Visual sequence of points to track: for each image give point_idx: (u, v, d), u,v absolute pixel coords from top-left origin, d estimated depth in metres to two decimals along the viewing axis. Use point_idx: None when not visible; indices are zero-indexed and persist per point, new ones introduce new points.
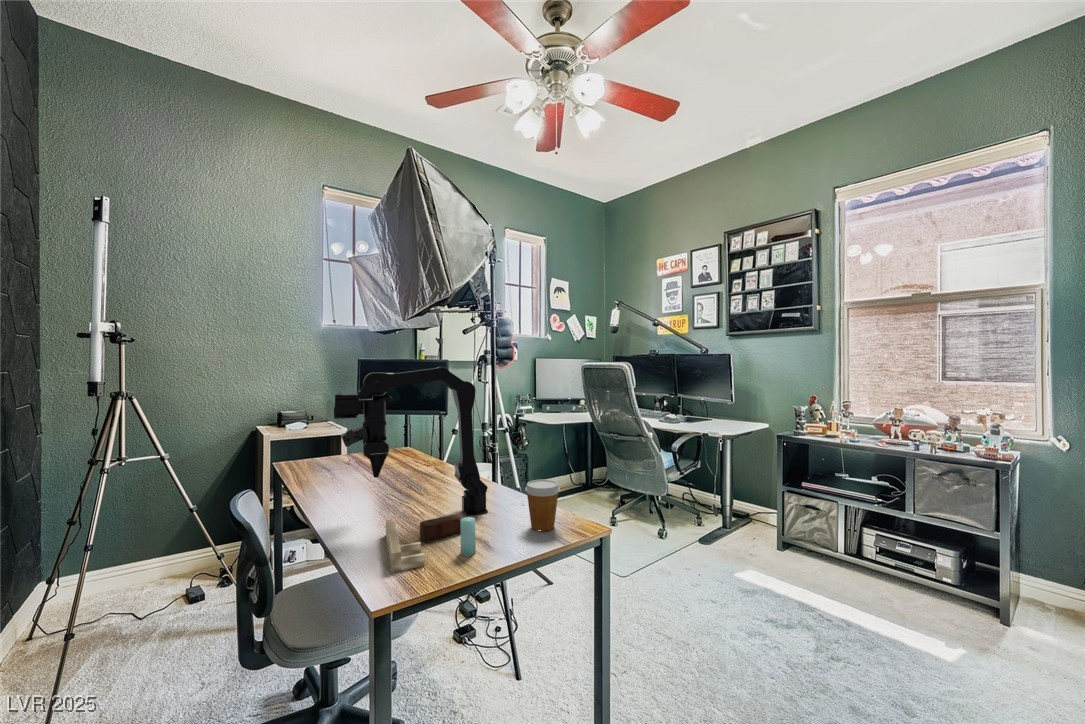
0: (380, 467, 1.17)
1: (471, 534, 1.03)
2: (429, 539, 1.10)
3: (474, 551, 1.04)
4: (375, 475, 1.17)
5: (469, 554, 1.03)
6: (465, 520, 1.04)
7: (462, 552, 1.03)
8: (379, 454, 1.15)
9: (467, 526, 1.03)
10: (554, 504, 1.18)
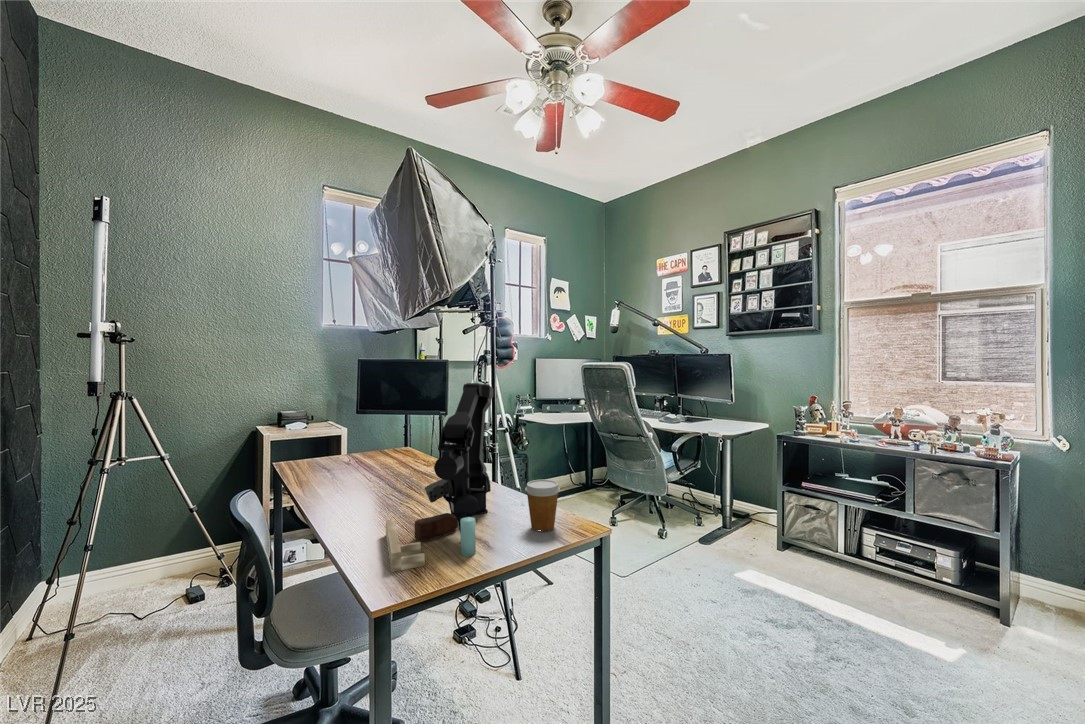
0: None
1: (471, 534, 1.03)
2: (424, 537, 1.11)
3: (474, 551, 1.04)
4: None
5: (469, 554, 1.03)
6: (465, 520, 1.04)
7: (462, 552, 1.03)
8: (468, 511, 1.09)
9: (467, 526, 1.03)
10: (554, 504, 1.18)
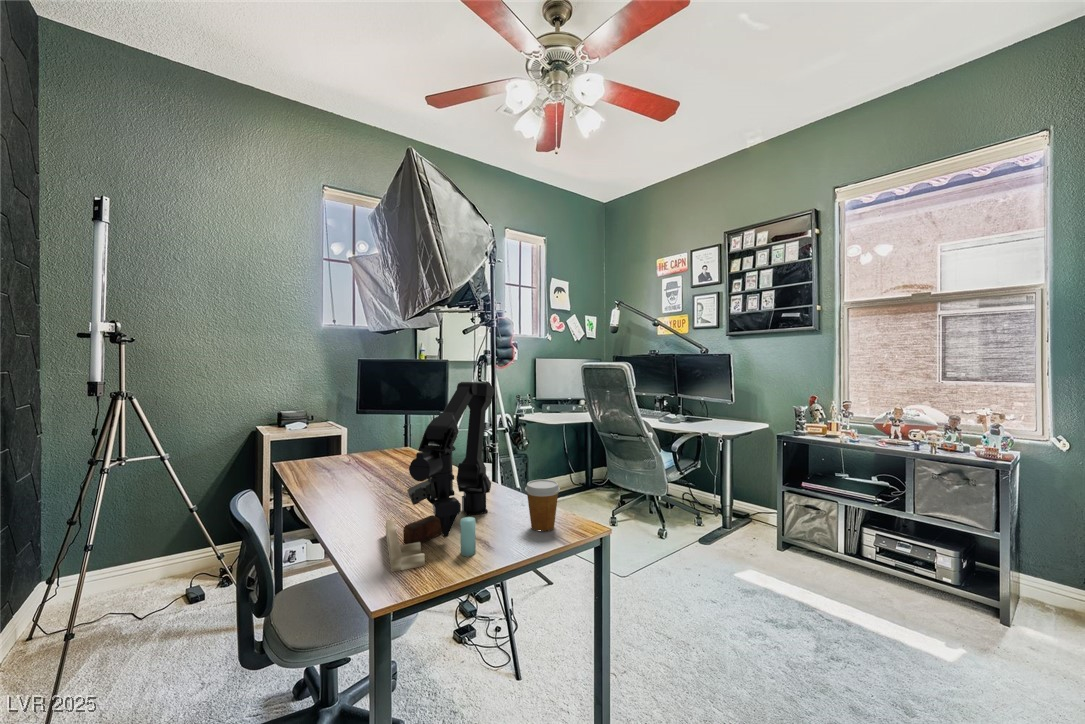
0: (450, 526, 1.10)
1: (471, 534, 1.03)
2: None
3: (474, 551, 1.04)
4: (445, 535, 1.10)
5: (469, 554, 1.03)
6: (465, 520, 1.04)
7: (462, 552, 1.03)
8: (450, 514, 1.07)
9: (467, 526, 1.03)
10: (554, 504, 1.18)
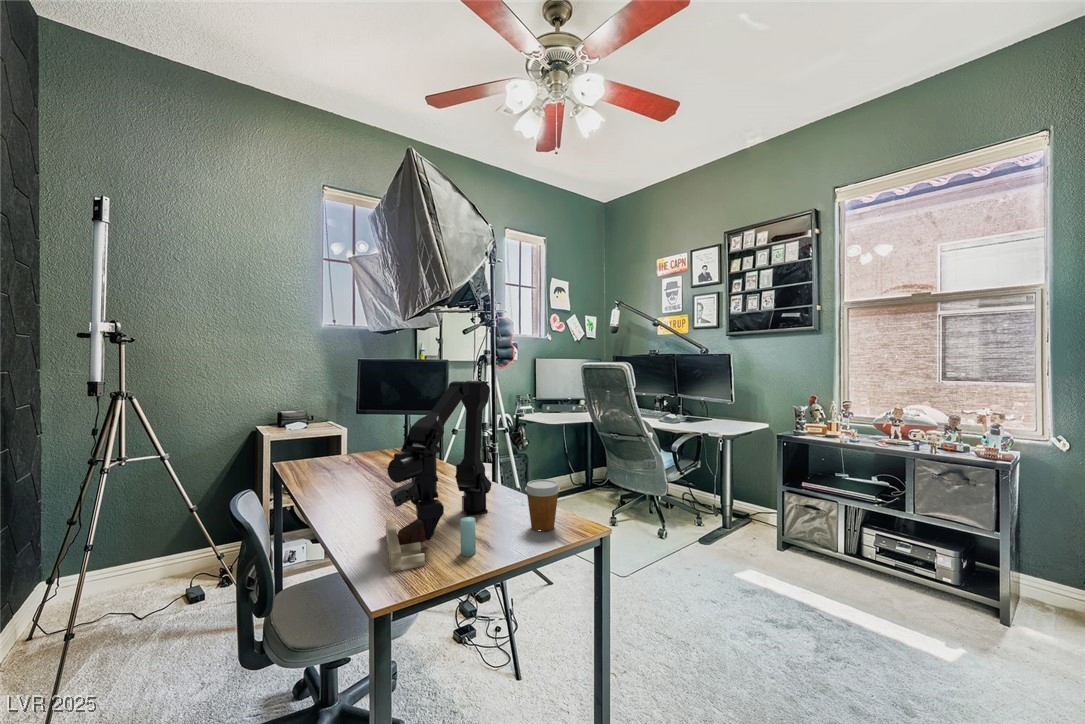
0: (433, 529, 1.08)
1: (471, 534, 1.03)
2: None
3: (474, 551, 1.04)
4: (428, 537, 1.08)
5: (469, 554, 1.03)
6: (465, 520, 1.04)
7: (462, 552, 1.03)
8: (433, 516, 1.06)
9: (467, 526, 1.03)
10: (554, 504, 1.18)
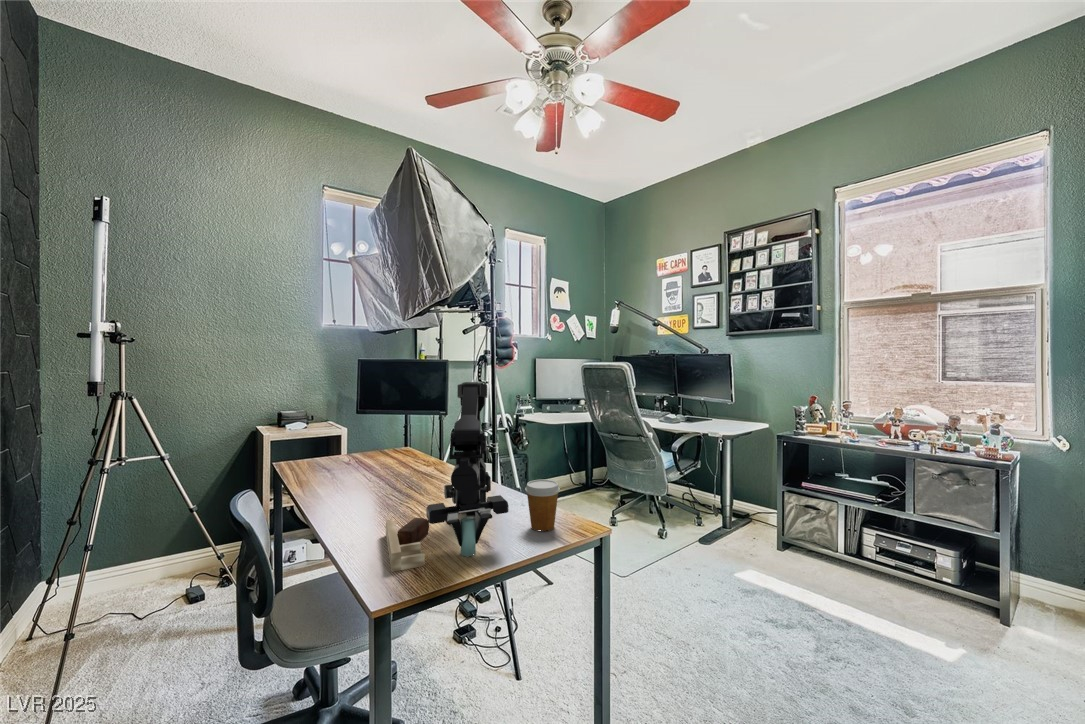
0: (456, 536, 1.02)
1: (471, 534, 1.03)
2: None
3: (474, 551, 1.04)
4: (458, 543, 1.04)
5: (469, 554, 1.03)
6: (465, 520, 1.04)
7: (462, 552, 1.03)
8: (446, 520, 1.02)
9: (467, 526, 1.03)
10: (554, 504, 1.18)
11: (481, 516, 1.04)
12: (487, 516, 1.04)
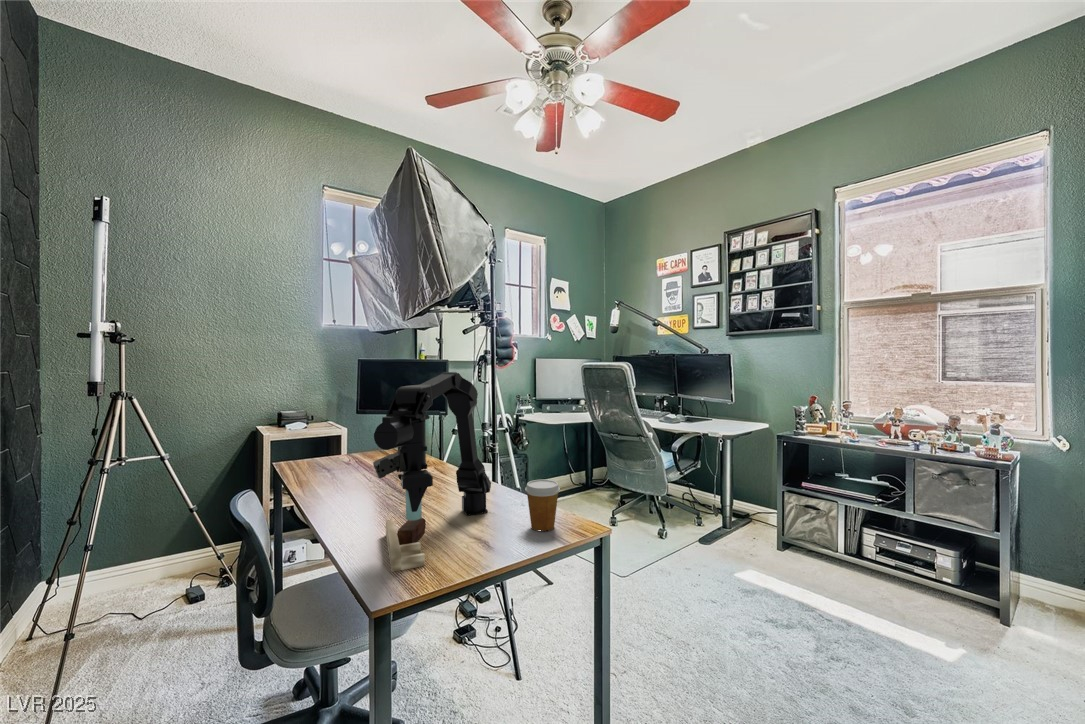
0: (419, 500, 0.98)
1: None
2: None
3: None
4: (413, 509, 0.99)
5: (421, 514, 1.01)
6: None
7: (418, 516, 1.00)
8: None
9: None
10: (554, 504, 1.18)
11: None
12: None
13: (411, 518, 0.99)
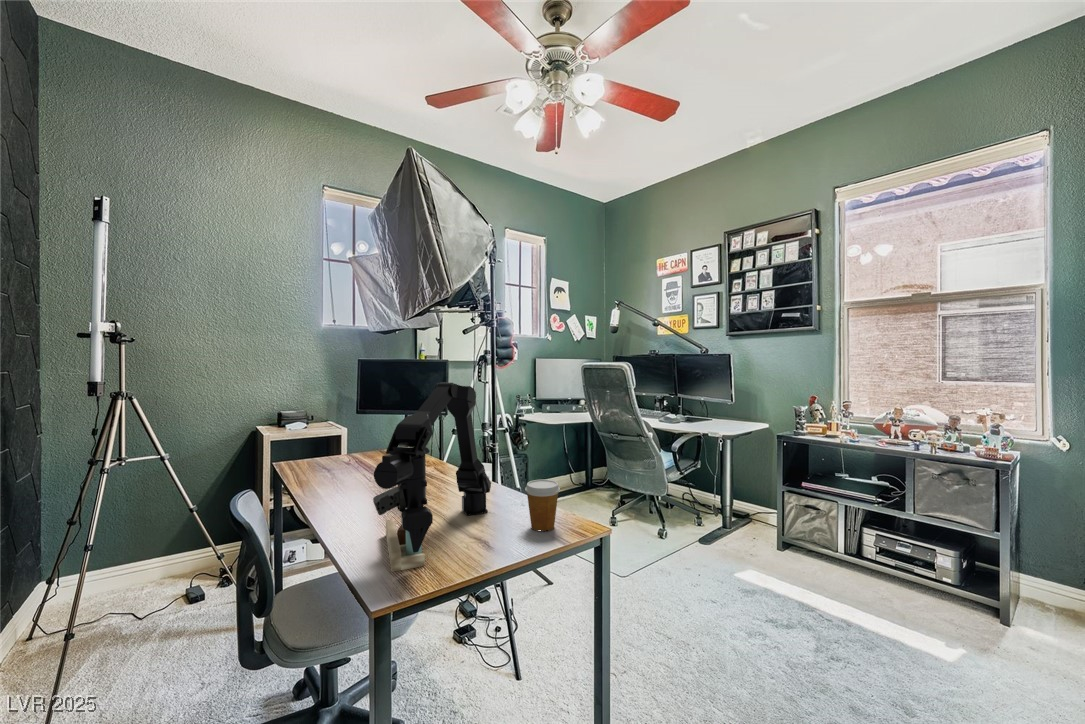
0: (421, 540, 0.96)
1: None
2: None
3: None
4: (415, 550, 0.96)
5: None
6: None
7: None
8: (421, 526, 0.94)
9: None
10: (554, 504, 1.18)
11: None
12: None
13: None
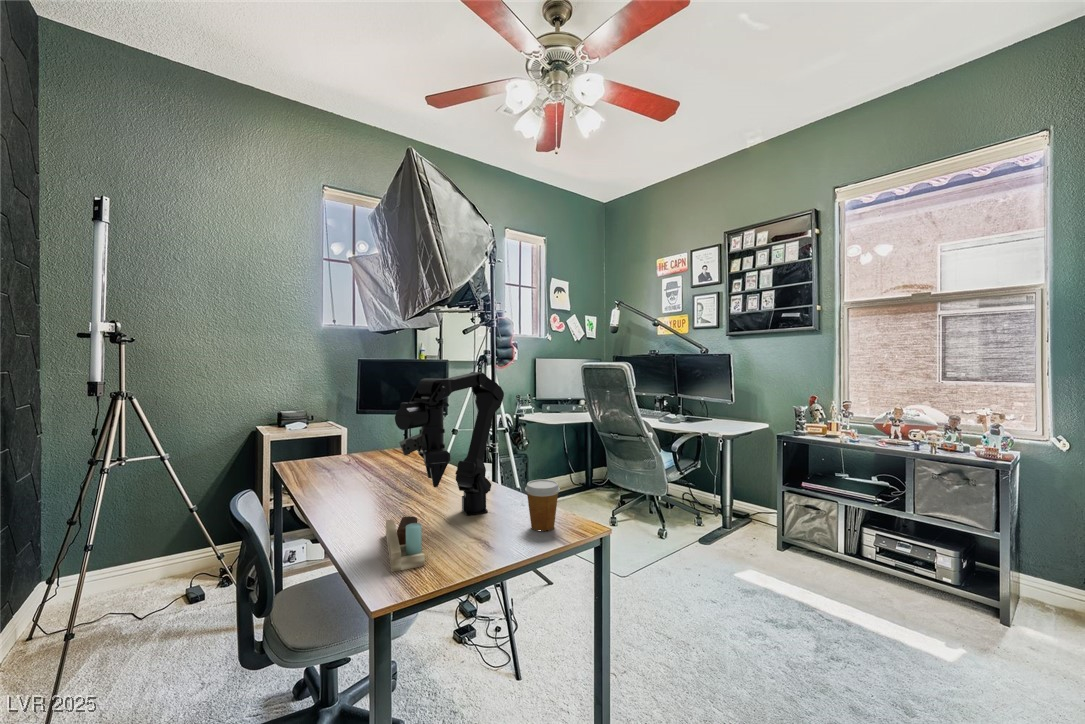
0: (440, 476, 1.14)
1: None
2: None
3: None
4: (435, 485, 1.14)
5: None
6: (415, 526, 1.00)
7: None
8: (440, 463, 1.11)
9: (421, 529, 1.01)
10: (554, 504, 1.18)
11: None
12: None
13: None
